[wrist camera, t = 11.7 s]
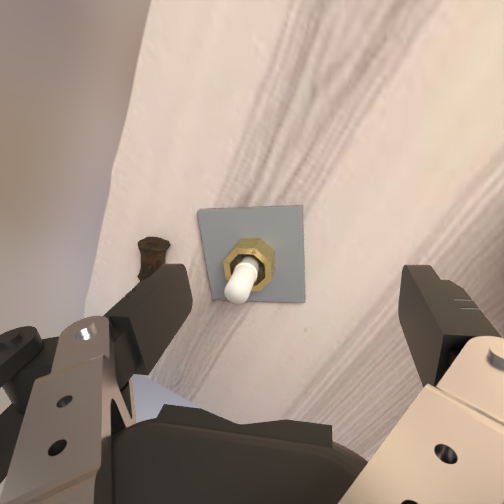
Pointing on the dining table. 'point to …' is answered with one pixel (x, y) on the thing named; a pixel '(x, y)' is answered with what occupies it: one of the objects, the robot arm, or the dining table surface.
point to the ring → (258, 250)
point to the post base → (257, 227)
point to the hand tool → (151, 255)
